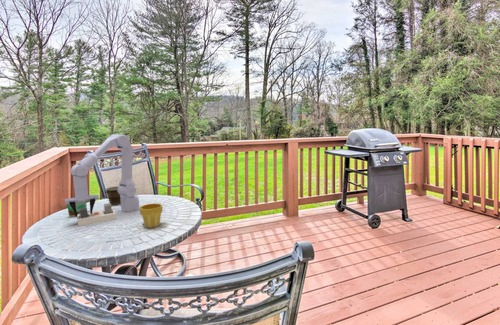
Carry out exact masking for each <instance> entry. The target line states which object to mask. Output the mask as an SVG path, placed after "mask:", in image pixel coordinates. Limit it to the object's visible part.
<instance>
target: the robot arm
mask: <svg viewBox="0 0 500 325" xmlns="http://www.w3.org/2000/svg"><path fill="white" fill-rule="evenodd" d="M111 148H117V149H118V150H120V152H121V179H120V181H119V183H118V186H117V187H118V189H117V191H118V193H119V194H120V200H121V204H120V207H121V208H120V209H121V212H122V213H131V212H134V211H140V199H139V196H138V195H137V194H136V192H137V189H136V187H135V185H136V184H135V182H134V181H133V146H132V144H131V141H130V138H129V137H128V136H127V135H126V134H115V133H113V134H111V135H110V136H109V137H107V138H106V139H105V141H103V143H102V144H100V145H99V147H97V149H96V150H94V152H92V153H91V152H90V153H87V154H85V155H84V158H82V159H81V160H80V161H77V164H74V165H73V166H72V167H71V169H70V170H69V171H70V174H71V175H72V178H73V179H72V180H73V188H74V197H70V198H65V199H64V204H65V205H66V204H68V203H70V206H71V208H72V209H73V211H74V213H75V216H74V217H75V218H77V211H76V204H75V202H80V201H86V202H88V201H89V213H90V214H92V212H93V211H94V210H93V209H94V206H95V204H96V200H99V199H100V198H99V194H94V195H93V194H92V195H89V187H88V179H87V178H88V177H87V175H88V173H89V171H90V170H91V169H92V168H93V167H94V166H95V165H96V164H97V163H98V162H99V158H100V157H101V156H102V155H104V154H105V153H106V152H107V151H108V150H110V149H111Z"/></svg>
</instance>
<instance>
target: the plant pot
mask: <svg viewBox="0 0 500 325" xmlns="http://www.w3.org/2000/svg"><path fill="white" fill-rule="evenodd" d="M139 209H140V210H139V213H140V216H142V220H143V222H144V226H145V227H146V228H157V227H158V226H160V222H161V218H162V216H161V215H162V213H163V204H162V203H156V202H155V203H148V204H147V203H146V204H144V205H141V206H139Z"/></svg>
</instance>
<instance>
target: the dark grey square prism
mask: <svg viewBox="0 0 500 325" xmlns="http://www.w3.org/2000/svg"><path fill="white" fill-rule="evenodd" d="M87 213H88V208H87V207H84V208H80V216H81V218H86V217H88V214H87Z"/></svg>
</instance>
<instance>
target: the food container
mask: <svg viewBox="0 0 500 325" xmlns="http://www.w3.org/2000/svg"><path fill="white" fill-rule="evenodd" d="M75 204H76V211H77V215H78V214H80V208H84V207H87V201H80V202H75ZM65 205H66V208H67V210H68V216H69V217H71V218H72V217H76V216H75V213H74V211H73V209H72V208H71V206H70V203H68V204H65Z"/></svg>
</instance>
